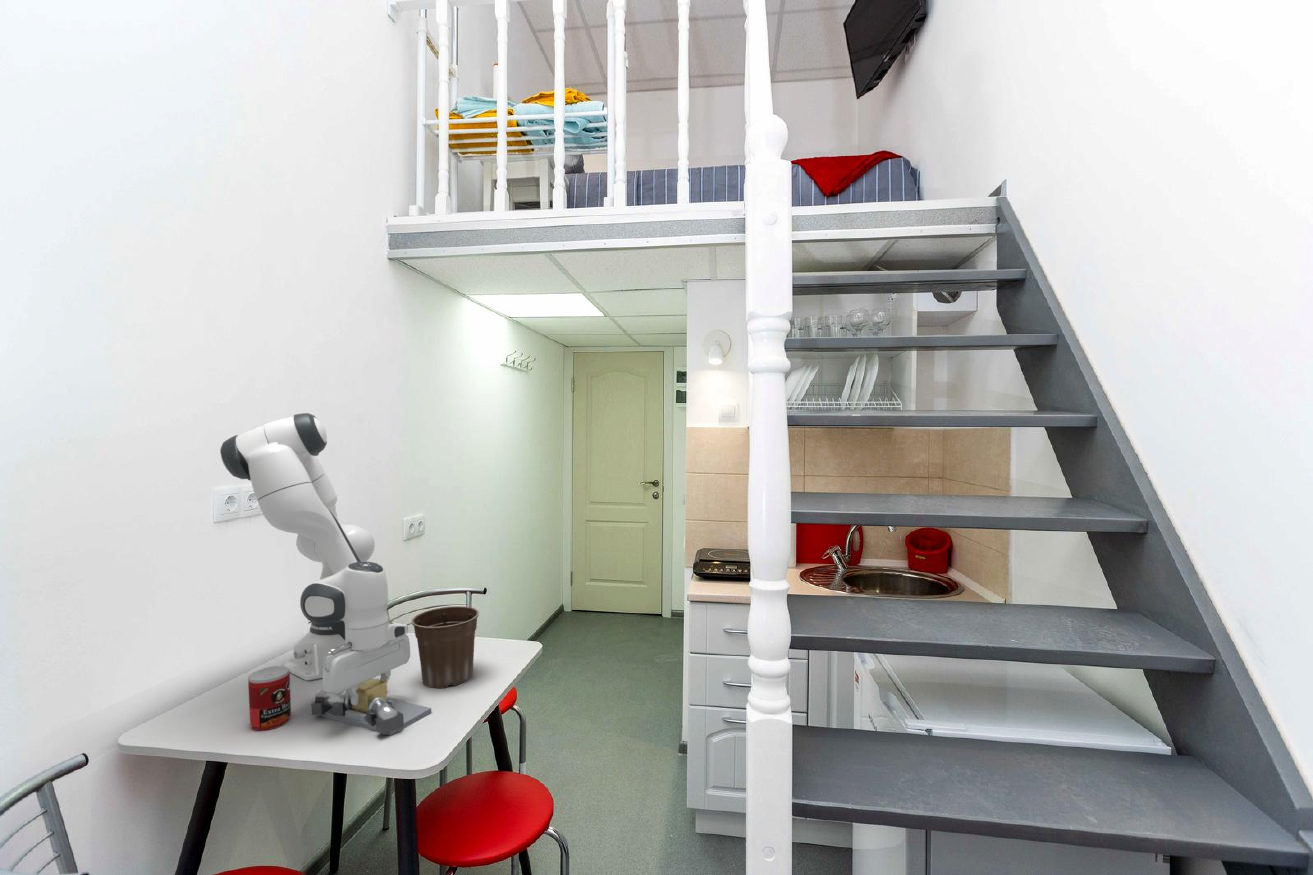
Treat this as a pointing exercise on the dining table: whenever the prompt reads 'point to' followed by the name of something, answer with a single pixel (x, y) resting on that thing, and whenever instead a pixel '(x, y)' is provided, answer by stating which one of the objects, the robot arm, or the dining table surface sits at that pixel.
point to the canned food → (269, 698)
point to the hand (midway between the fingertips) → (369, 697)
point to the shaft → (331, 703)
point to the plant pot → (446, 644)
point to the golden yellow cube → (370, 693)
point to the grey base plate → (407, 709)
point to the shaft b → (383, 715)
